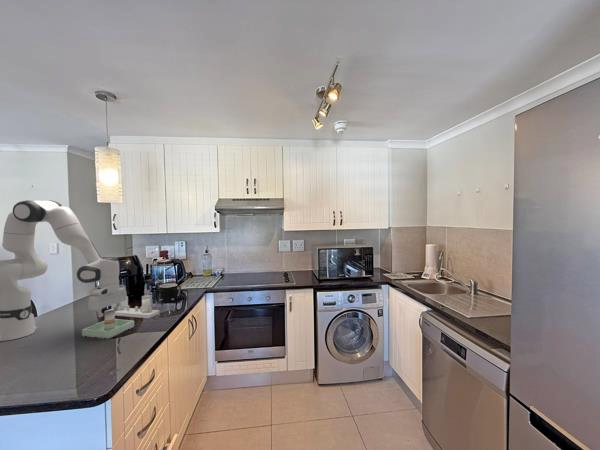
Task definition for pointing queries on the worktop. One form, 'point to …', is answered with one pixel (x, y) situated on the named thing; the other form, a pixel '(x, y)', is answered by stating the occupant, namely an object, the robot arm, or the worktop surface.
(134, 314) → the holder
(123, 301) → the medicine bottle
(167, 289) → the mug
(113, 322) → the fuse marked
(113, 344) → the worktop surface
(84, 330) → the tray
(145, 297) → the fuse right
